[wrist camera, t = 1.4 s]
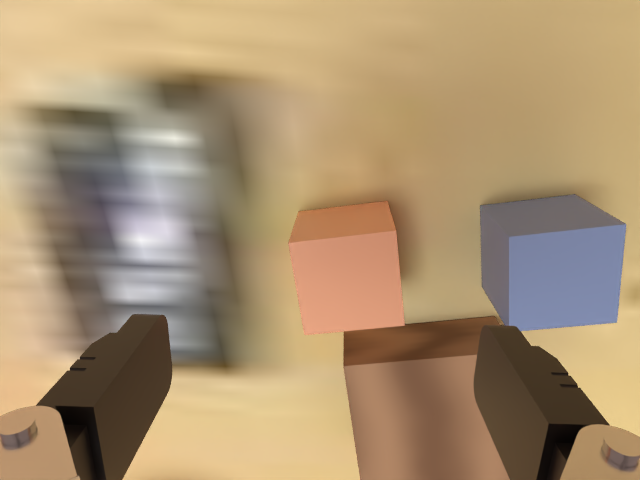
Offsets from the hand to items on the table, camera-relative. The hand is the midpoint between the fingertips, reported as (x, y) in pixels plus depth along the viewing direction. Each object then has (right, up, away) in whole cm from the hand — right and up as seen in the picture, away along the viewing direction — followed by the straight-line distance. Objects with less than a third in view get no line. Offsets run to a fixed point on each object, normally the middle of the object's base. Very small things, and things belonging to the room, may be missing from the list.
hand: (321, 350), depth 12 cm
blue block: (+13, +3, +17) cm, 21 cm away
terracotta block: (+2, +2, +18) cm, 18 cm away
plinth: (+7, -7, +21) cm, 23 cm away
